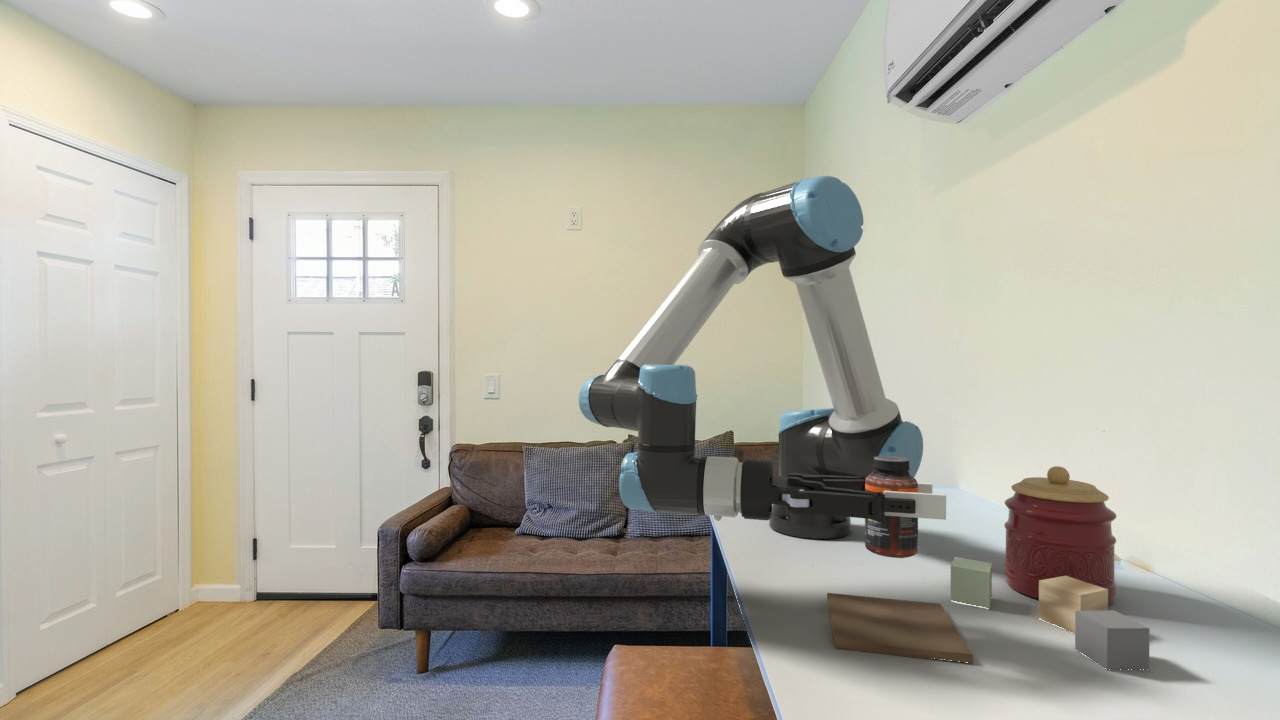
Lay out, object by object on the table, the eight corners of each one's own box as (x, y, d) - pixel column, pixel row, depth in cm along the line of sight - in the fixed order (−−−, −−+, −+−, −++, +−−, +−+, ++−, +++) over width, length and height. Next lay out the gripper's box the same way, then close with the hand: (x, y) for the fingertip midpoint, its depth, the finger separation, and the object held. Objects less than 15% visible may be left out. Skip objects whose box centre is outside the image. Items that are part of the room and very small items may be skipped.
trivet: (827, 600, 81) (827, 592, 81) (940, 611, 78) (940, 603, 78) (835, 648, 67) (835, 639, 67) (972, 664, 64) (972, 654, 64)
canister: (1039, 609, 79) (1040, 474, 79) (985, 574, 92) (986, 458, 92) (1141, 611, 78) (1142, 475, 78) (1072, 575, 91) (1073, 459, 91)
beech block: (1038, 620, 76) (1038, 580, 76) (1065, 614, 77) (1065, 575, 77) (1080, 637, 71) (1080, 595, 71) (1107, 630, 73) (1107, 589, 73)
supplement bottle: (924, 551, 73) (926, 458, 73) (908, 563, 68) (909, 463, 68) (874, 541, 77) (876, 452, 77) (856, 551, 72) (857, 457, 72)
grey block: (1075, 650, 68) (1075, 610, 68) (1114, 650, 68) (1114, 610, 68) (1107, 671, 63) (1107, 628, 63) (1149, 671, 63) (1149, 628, 63)
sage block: (954, 592, 84) (954, 556, 84) (991, 599, 82) (991, 563, 82) (950, 602, 81) (950, 565, 81) (989, 610, 78) (989, 572, 78)
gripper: (745, 501, 86) (920, 513, 80) (734, 538, 67) (960, 556, 62) (746, 448, 86) (921, 457, 80) (735, 471, 68) (961, 484, 62)
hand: (937, 500), depth 71 cm, fingers closed on supplement bottle, 6 cm apart
